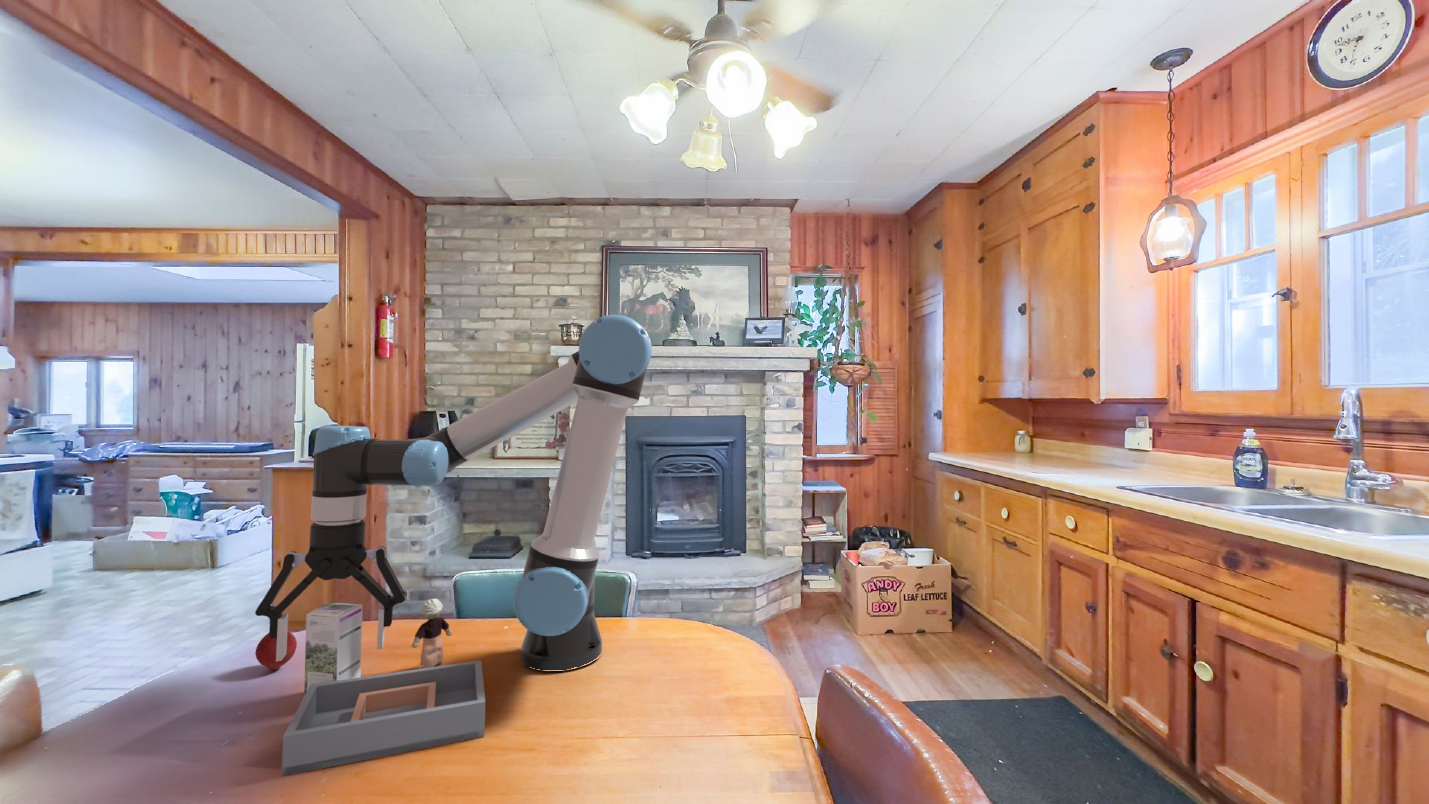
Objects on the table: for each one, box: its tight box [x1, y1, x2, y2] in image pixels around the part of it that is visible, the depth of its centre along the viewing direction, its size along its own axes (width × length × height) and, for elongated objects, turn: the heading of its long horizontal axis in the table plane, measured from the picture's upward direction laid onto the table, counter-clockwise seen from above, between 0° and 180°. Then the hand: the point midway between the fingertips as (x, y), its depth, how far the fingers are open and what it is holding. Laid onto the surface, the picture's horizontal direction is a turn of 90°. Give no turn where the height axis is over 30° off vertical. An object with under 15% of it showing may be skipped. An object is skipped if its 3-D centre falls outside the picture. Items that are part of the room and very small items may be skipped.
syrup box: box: [303, 602, 363, 697], centre depth 93 cm, size 6×6×14 cm
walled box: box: [281, 659, 486, 777], centre depth 85 cm, size 24×15×5 cm, turn 114°
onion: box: [255, 630, 298, 671], centre depth 102 cm, size 6×6×8 cm
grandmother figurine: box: [411, 598, 453, 669], centre depth 104 cm, size 8×4×13 cm, turn 164°
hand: (332, 652), depth 93 cm, fingers open, 13 cm apart
